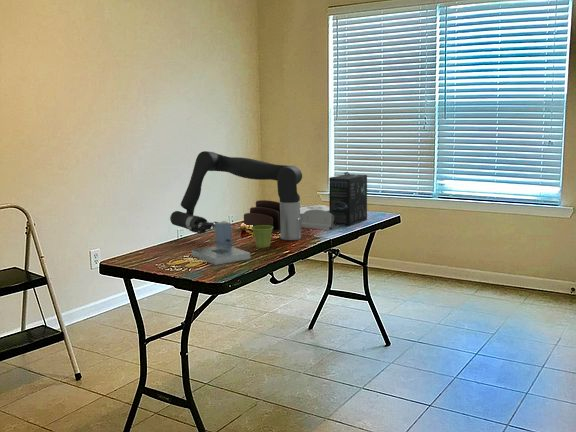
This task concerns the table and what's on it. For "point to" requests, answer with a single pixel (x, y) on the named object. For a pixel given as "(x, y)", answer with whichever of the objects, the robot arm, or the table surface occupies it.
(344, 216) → the headset box
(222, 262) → the plate
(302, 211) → the white rounded slab
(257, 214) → the letter holder
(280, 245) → the table surface
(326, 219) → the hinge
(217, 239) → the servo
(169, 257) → the table surface
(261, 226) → the plant pot
